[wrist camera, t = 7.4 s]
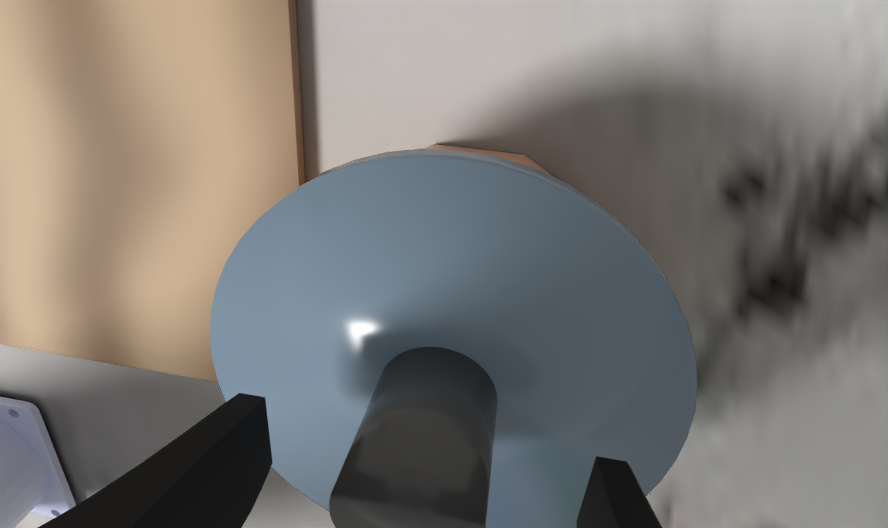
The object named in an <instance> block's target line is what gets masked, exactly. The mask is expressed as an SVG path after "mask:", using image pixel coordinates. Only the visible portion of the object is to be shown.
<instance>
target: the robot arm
mask: <svg viewBox="0 0 888 528" xmlns="http://www.w3.org/2000/svg"><path fill="white" fill-rule="evenodd" d="M272 463H273V462H272V453H271V444H270V435H269V427H268V418H267V409H266V400H265V397H261V396H255V395H249V394H244V393H238V394H237V395H235V396H234V397H233V398H231V399H230V400H228V401H227V402H226V403H224V404H223V405H221V406H220V407H219V408H217V409H216V410H215V411H213V412H212V413H211V414H209V415H208V416H206V417H205V418H204V419H202V420H201V421H200V422H198V423H197V424H196V425H194V426H193V427H191V428H190V429H189V430H187V431H186V432H185V433H183V434H182V435H181V436H179V437H178V438H176V439H175V440H174V441H172V442H171V443H169V444H168V445H166V446H165V447H164V448H162V449H161V450H159V451H158V452H157V453H155V454H154V455H152V456H151V457H150V458H148V459H147V460H145V461H144V462H142V463H141V464H139V465H138V466H137V467H135V468H134V469H132V470H130V471H129V472H127V473H126V474H124V475H123V476H121V477H120V478H118V479H117V480H115V481H114V482H112V483H111V484H109V485H108V486H106V487H105V488H103V489H102V490H100V491H99V492H97V493H96V494H94V495H92V496H91V497H89V498H88V499H86V500H84V501H83V502H81V503H79V504H78V505H76V503H75V501H74V498H73V495H72V493H71V490H70V488H69V485H68V483H67V480H66V477H65V475H64V472H63V470H62V467H61V465H60V462H59V460H58V457H57V454H56V452H55V449H54V447H53V444H52V442H51V439H50V436H49V434H48V431H47V429H46V426H45V424H44V421H43V419H42V416H41V413H40V411H39V409H38V408H37V407H36V406H35V405H34V404H32V403H30V402H26V401H21V400H15V399H10V398H5V397H0V528H15V527H16V526H17V525H18V524H19V523H20V522H21V521H22V520H23V519H24V518H25V517H26V516H27V515H28V514H29V513H33V514H38V515H43V516H47V517H52V518H54V519H52V520H50V521H49V522H47V523H45V524H43V525H42V526H40V527H38V528H241V527H242V525H243V524H244V522H245V520H246V519H247V517H248V515H249V513H250V512H251V510H252V508H253V506H254V504H255V502H256V499H257V497H258V495H259V493H260V491H261V489H262V486H263V484H264V482H265V479H266V477H267V475H268V472H269V470H270V468H271V465H272ZM577 528H662V527H661V525H660V523H659V521H658V519H657V517H656V516H655V514H654V512H653V510H652V508H651V506H650V504H649V502H648V500H647V498H646V497H645V495H644V493H643V491H642V489H641V487H640V485H639V483H638V481H637V479H636V477H635V475H634V473H633V471H632V469H631V467H630V465H629V464H628V463H627V461H621V460H615V459H610V458H604V457H599V456H596V458H595V462H594V465H593V468H592V472H591V475H590V478H589V482H588V485H587V488H586V491H585V495H584V498H583V501H582V505H581V508H580V511H579V515H578V518H577Z"/></svg>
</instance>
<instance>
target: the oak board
mask: <svg viewBox="0 0 888 528" xmlns="http://www.w3.org/2000/svg"><path fill="white" fill-rule="evenodd" d="M304 183H305V166H304V147H303V128H302V109H301V90H300V71H299V52H298V33H297V14H296V0H0V344H3V345H8V346H14V347H20V348H25V349H31V350H37V351H43V352H48V353H54V354H60V355H65V356H71V357H77V358H82V359H88V360H94V361H99V362H105V363H111V364H116V365H122V366H128V367H133V368H139V369H145V370H150V371H156V372H162V373H167V374H173V375H179V376H184V377H190V378H196V379H201V380H207V381H213V382H218V380H217V376H216V372H215V368H214V364H213V360H212V352H211V343H210V320H211V308H212V304H213V299H214V294H215V290H216V286H217V283H218V281H219V278H220V276H221V273H222V271H223V268H224V266H225V263H226V261H227V260H228V258H229V256H230V255H231V253H232V251H233V250H234V248H235V247H236V245H237V243H238V242H239V240H240V239H241V238H242V236H243V235H244V234H245V233H246V232H247V231H248V230H249V229H250V227H251V226H252V225H253V224H254V223H255V222H256V221H257V219H258V218H259V217H261V216H262V215H263V214H264V213H266V212H267V211H268V210H269V209H270V208H272V207H273V206H274V205H275V204H277V203H278V202H279V201H280V200H282V199H283V198H284V197H285V196H287V195H288V194H289V193H291V192H292V191H293V190H295V189H296V188H297V187H299V186H301V185H302V184H304Z"/></svg>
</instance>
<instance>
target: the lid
mask: <svg viewBox="0 0 888 528" xmlns="http://www.w3.org/2000/svg"><path fill="white" fill-rule="evenodd" d="M210 343H211V352H212V360H213V364H214V368H215V372H216V376H217V380H218V384H219V386H220V389H221V391H222V394H223V396H224V398H225V401H226V402H227V401H228V400H230V399H231V398H233V397H234V396H235V395H237V394H238V393H244V394H249V395H255V396H261V397H265V400H266V409H267V418H268V427H269V435H270V444H271V453H272V462H273V463H272V465H271V467H272V468H273V469H274V470H275V471H276V472H277V473H278V474H280V475H281V476H282V477H283V478H284V479H285V480H286V481H287V482H288V483H289V484H291V485H292V486H293V487H295V488H296V489H297V490H299V491H300V492H301V493H302V494H304V495H305V496H306V497H308V498H309V499H311V500H312V501H314V502H315V503H317V504H319V505H320V506H322V507H323V508H325V509H326V510H328V511H330V515H331V518H332V521H333V523H334V525H335V527H336V528H577V518H578V515H579V511H580V508H581V505H582V501H583V498H584V495H585V491H586V488H587V485H588V482H589V478H590V475H591V472H592V468H593V465H594V462H595V458H596V456H599V457H604V458H610V459H615V460H621V461H627V463H628V464H629V465H630V467H631V469H632V471H633V473H634V475H635V477H636V479H637V481H638V483H639V485H640V487H641V489H642V491H643V493H644V495H645V497H646V496H647V494H648V493H649V492H650V491H651V490H652V489H653V488H654V487H655V486H656V485H657V484H658V483H659V482H660V481H661V480H662V479H663V477H664V476H665V474H666V473H667V472H668V470H669V469H670V467H671V466H672V465H673V463H674V462H675V460H676V459H677V457H678V455H679V453H680V451H681V449H682V447H683V444H684V442H685V440H686V438H687V436H688V433H689V429H690V426H691V423H692V419H693V416H694V412H695V405H696V396H697V387H698V380H697V366H696V355H695V351H694V347H693V343H692V339H691V335H690V331H689V327H688V324H687V322H686V320H685V318H684V315H683V313H682V311H681V308H680V306H679V304H678V302H677V299H676V297H675V295H674V293H673V291H672V289H671V287H670V285H669V283H668V281H667V279H666V277H665V275H664V274H663V272H662V271H661V269H660V268H659V266H658V265H657V263H656V262H655V260H654V259H653V257H652V255H651V254H650V252H649V251H648V250H647V249H646V248H645V246H644V245H643V244H642V243H641V242H640V241H639V240H638V239H637V237H636V236H635V235H634V234H633V233H632V232H631V231H630V230H629V228H628V227H627V226H626V225H625V224H623V223H622V222H621V221H620V220H619V219H617V218H616V217H615V216H614V215H613V214H611V213H610V212H609V211H608V210H607V209H606V208H604V207H603V206H602V205H601V204H600V203H598V202H597V201H595V200H593V199H592V198H590V197H589V196H587V195H586V194H584V193H582V192H581V191H579V190H578V189H576V188H574V187H573V186H571V185H570V184H568V183H566V182H564V181H562V180H559V179H557V178H555V177H553V176H551V175H549V174H546V173H544V172H542V171H540V170H538V169H535V168H533V167H530V166H527V165H523V164H520V163H517V162H514V161H510V160H507V159H504V158H501V157H497V156H492V155H486V154H480V153H474V152H468V151H462V150H444V149H415V150H404V151H394V152H386V153H382V154H377V155H373V156H369V157H365V158H360V159H356V160H353V161H350V162H348V163H345V164H343V165H340V166H338V167H335V168H333V169H330V170H328V171H325V172H323V173H321V174H320V175H318V176H316V177H314V178H313V179H311V180H309V181H308V182H306V183H304V184H302V185H301V186H299V187H297V188H296V189H295V190H293V191H292V192H291V193H289V194H288V195H287V196H285V197H284V198H283V199H282V200H280V201H279V202H278V203H277V204H275V205H274V206H273V207H272V208H270V209H269V210H268V211H267V212H266V213H264V214H263V215H262V216H261V217H259V218H258V219H257V221H256V222H255V223H254V224H253V225H252V226H251V227H250V229H249V230H248V231H247V232H246V233H245V234H244V235H243V236H242V238H241V239H240V240H239V242H238V243H237V245H236V247H235V248H234V250H233V251H232V253H231V255H230V256H229V258H228V260H227V261H226V263H225V266H224V268H223V271H222V273H221V276H220V278H219V281H218V283H217V286H216V290H215V294H214V299H213V304H212V308H211V320H210Z"/></svg>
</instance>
